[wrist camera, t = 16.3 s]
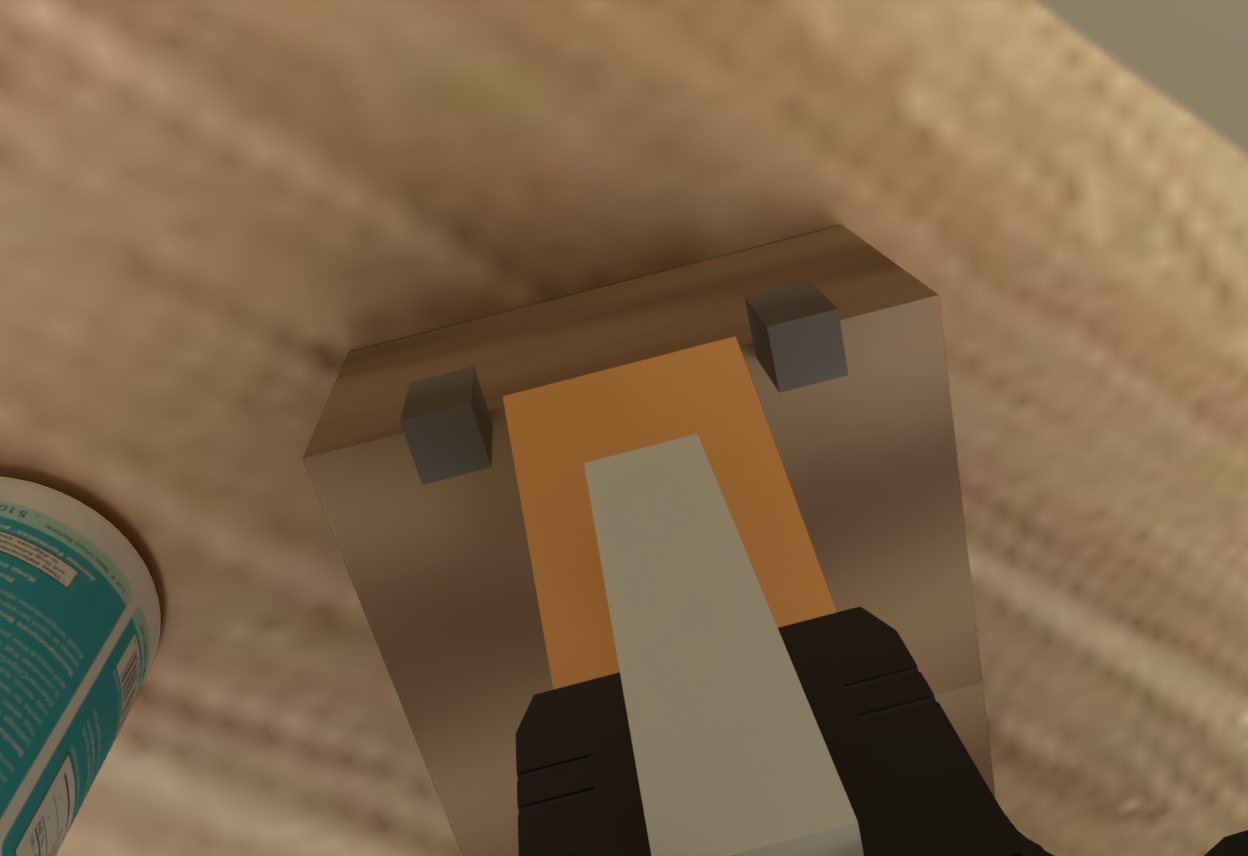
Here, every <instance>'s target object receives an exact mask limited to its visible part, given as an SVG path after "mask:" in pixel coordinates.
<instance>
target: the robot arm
mask: <svg viewBox="0 0 1248 856" xmlns="http://www.w3.org/2000/svg"><path fill="white" fill-rule="evenodd" d="M584 466H585V472H586V478H587V484H588V490H589V496H590V501H591V507H592V513H593V519H594V525H595V530H596V536H597V542H598V548H599V554H600V559H601V565H602V571H603V577H604V583H605V589H606V594H607V600H608V606H609V612H610V618H611V623H612V629H613V635H614V641H615V647H616V652H617V658H618V664H619V670H620V672H619V673H615V674H611V675H607V676H604V677H600V678H596V679H592V680H588V681H584V682H581V683H577V684H573V685H569V686H565V687H561V688H558V689H554V690H550V691H546V692H542V693H538V694H535V695H533V698H532V700H531V702H530V704H529V706H528V708H527V710H526V712H525V715H524V717H523V719H522V721H521V723H520V725H519V727H518V729H517V732H516V771H517V777H518V781H517V807H518V810H519V815H518V847H519V856H1054V855H1052V854H1050V853H1048V852H1046V851H1045V850H1044V849H1043V848H1042V847H1041V846H1040V845H1038V844H1036V843H1034V842H1033V841H1031V840H1029V839H1027V838H1026V837H1025V836H1024V835H1022V834H1021V833H1020V832H1019V831H1017V829H1016V828H1015V827H1014V825H1013V824H1012V823H1011V822H1010V820H1009V819H1008V818H1007V816H1006V815H1005V814H1004V813H1003V811H1002V809H1001V808H1000V806H999V804H998V803H997V801H996V799H995V797H994V796H993V794H992V792H991V791H990V789H989V787H988V786H987V784H986V782H985V780H984V779H983V777H982V775H981V774H980V772H979V770H978V768H977V767H976V765H975V763H974V762H973V760H972V758H971V757H970V755H969V753H968V751H967V750H966V748H965V746H964V745H963V743H962V741H961V739H960V738H959V736H958V734H957V733H956V731H955V729H954V727H953V726H952V724H951V722H950V721H949V719H948V717H947V716H946V714H945V712H944V710H943V709H942V707H941V705H940V704H939V702H936V700H935V697H934V693H933V692H932V690H931V688H930V686H929V685H928V683H927V681H926V680H925V678H924V676H923V675H922V673H921V672H920V673H919V670H918V667H917V664H916V663H915V661H914V659H913V657H912V656H911V654H910V652H909V651H908V649H907V647H906V645H905V644H904V642H903V640H902V639H901V637H900V635H899V634H898V632H897V631H896V630H895V629H894V628H892V627H891V626H889V625H888V624H886V623H885V622H883V621H882V620H880V619H879V618H877V617H876V616H874V615H873V614H871V613H870V612H868V611H867V610H865V609H864V608H862V607H861V606H859V607H856V608H852V609H848V610H844V611H840V612H836V613H833V614H829V615H825V616H821V617H817V618H813V619H810V620H806V621H802V622H798V623H794V624H790V625H786V626H783V627H779V628H777V625H776V623H775V620H774V618H773V616H772V613H771V611H770V608H769V606H768V604H767V601H766V599H765V596H764V594H763V591H762V589H761V587H760V584H759V582H758V579H757V577H756V574H755V572H754V570H753V567H752V565H751V562H750V560H749V558H748V555H747V553H746V550H745V548H744V545H743V543H742V541H741V538H740V536H739V533H738V531H737V529H736V526H735V524H734V521H733V519H732V516H731V514H730V512H729V509H728V507H727V504H726V502H725V499H724V497H723V495H722V492H721V490H720V487H719V485H718V483H717V480H716V478H715V475H714V473H713V470H712V468H711V466H710V463H709V461H708V458H707V456H706V454H705V451H704V449H703V446H702V444H701V441H700V439H699V437H698V434H694V435H690V436H686V437H682V438H679V439H675V440H671V441H667V442H663V443H659V444H656V445H652V446H648V447H644V448H640V449H636V450H632V451H628V452H625V453H621V454H617V455H613V456H609V457H605V458H602V459H598V460H594V461H590V462H586V463H584ZM1204 856H1248V830H1246V831H1243V832H1240V833H1237V834H1233V835H1230V836H1227V837H1224V838H1223V839H1222V840H1221V841H1220V842H1219V843H1218V844H1216V845H1215V846H1214V847H1213V848H1212V849H1211V850H1210V851H1209V852H1208V853H1206V854H1205V855H1204Z"/></svg>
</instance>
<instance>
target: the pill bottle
mask: <svg viewBox="0 0 1248 856" xmlns="http://www.w3.org/2000/svg"><path fill="white" fill-rule="evenodd" d="M160 627H161V615H160V605H159V599H158V595H157V592H156V588H155V585H154V582H153V580H152V577H151V575H150V573H149V571H148V569H147V567H146V565H145V563H144V561H143V560H142V558H141V557H140V555H139V554H138V552H137V551H136V550H135V548H134V547H133V546H132V544H131V543H130V542H129V541H128V540H127V539H126V537H125V536H124V535H123V534H122V533H121V532H120V531H119V530H118V529H117V528H116V527H115V526H114V525H113V524H111V523H110V522H109V521H108V520H107V519H105V518H104V517H103V516H101V515H100V514H99V513H97V512H96V511H94V510H93V509H91V508H90V507H88V506H86V505H85V504H83V503H82V502H80V501H78V500H76V499H74V498H72V497H70V496H68V495H66V494H64V493H61V492H59V491H57V490H54V489H51V488H49V487H46V486H43V485H40V484H36V483H33V482H29V481H24V480H20V479H15V478H8V477H1V476H0V856H56V854H57V852H58V850H59V848H60V846H61V844H62V842H63V840H64V838H65V836H66V834H67V832H68V831H69V829H70V827H71V825H72V823H73V821H74V819H75V817H76V815H77V813H78V811H79V809H80V807H81V805H82V803H83V801H84V799H85V797H86V795H87V793H88V791H89V789H90V787H91V785H92V783H93V781H94V779H95V778H96V776H97V774H98V772H99V770H100V768H101V766H102V764H103V762H104V760H105V758H106V756H107V754H108V752H109V750H110V748H111V746H112V744H113V742H114V741H115V739H116V737H117V735H118V733H119V731H120V729H121V727H122V725H123V723H124V721H125V719H126V717H127V715H128V713H129V711H130V709H131V707H132V705H133V703H134V701H135V700H136V697H137V695H138V693H139V691H140V689H141V687H142V685H143V683H144V681H145V679H146V677H147V675H148V673H149V671H150V668H151V666H152V664H153V661H154V658H155V656H156V653H157V648H158V644H159V639H160Z"/></svg>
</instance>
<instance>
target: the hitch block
mask: <svg viewBox="0 0 1248 856" xmlns="http://www.w3.org/2000/svg"><path fill="white" fill-rule="evenodd" d="M735 336H736V339H737V342H738V344H739V347H740V350H741V352H742V355H743V358H744V361H745V363H746V366H747V369H748V372H749V374H750V377H751V380H752V382H753V385H754V388H755V391H756V393H757V396H758V399H759V402H760V404H761V407H762V410H763V412H764V415H765V418H766V421H767V423H768V426H769V429H770V431H771V434H772V437H773V440H774V442H775V445H776V448H777V451H778V453H779V456H780V459H781V461H782V464H783V467H784V470H785V472H786V475H787V478H788V481H789V483H790V486H791V489H792V491H793V494H794V497H795V500H796V502H797V505H798V508H799V511H800V513H801V516H802V519H803V521H804V524H805V527H806V530H807V532H808V535H809V538H810V541H811V543H812V546H813V549H814V551H815V554H816V557H817V560H818V562H819V565H820V568H821V571H822V573H823V576H824V579H825V581H826V584H827V587H828V590H829V592H830V595H831V598H832V601H833V603H834V606H835V609H836V611H837V612H840V611H844V610H848V609H852V608H856V607H859V606H861V607H862V608H864V609H865V610H867V611H868V612H870V613H871V614H873V615H874V616H876V617H877V618H879V619H880V620H882V621H883V622H885V623H886V624H888V625H889V626H891V627H892V628H894V629H895V630H896V631H897V632H898V634H899V635H900V637H901V639H902V640H903V642H904V644H905V645H906V647H907V649H908V651H909V652H910V654H911V656H912V657H913V659H914V661H915V663H916V664H917V667H918V670H919V673H920V672H921V673H922V675H923V676H924V678H925V680H926V681H927V683H928V685H929V686H930V688H931V690H932V692H933V693H934V697H935V700H936V702H939V704H940V705H941V707H942V709H943V710H944V712H945V714H946V716H947V717H948V719H949V721H950V722H951V724H952V726H953V727H954V729H955V731H956V733H957V734H958V736H959V738H960V739H961V741H962V743H963V745H964V746H965V748H966V750H967V751H968V753H969V755H970V757H971V758H972V760H973V762H974V763H975V765H976V767H977V768H978V770H979V772H980V774H981V775H982V777H983V779H984V780H985V782H986V784H987V786H988V787H989V789H990V791H991V792H992V794H993V796H994V797H995V791H994V782H993V773H992V764H991V755H990V747H989V738H988V729H987V720H986V711H985V702H984V693H983V685H982V676H981V667H980V658H979V649H978V640H977V631H976V623H975V614H974V605H973V596H972V587H971V578H970V569H969V561H968V552H967V543H966V534H965V525H964V516H963V507H962V499H961V490H960V481H959V472H958V463H957V454H956V445H955V437H954V428H953V419H952V410H951V401H950V392H949V383H948V375H947V366H946V357H945V348H944V339H943V330H942V321H941V313H940V304H939V295H938V294H936V293H935V292H934V291H932V290H931V289H930V288H928V287H927V286H925V285H924V284H923V283H921V282H920V281H919V280H917V279H916V278H914V277H913V276H912V275H910V274H909V273H907V272H906V271H905V270H903V269H902V268H901V267H899V266H898V265H896V264H895V263H894V262H892V261H891V260H890V259H888V258H887V257H885V256H884V255H883V254H881V253H880V252H878V251H877V250H876V249H874V248H873V247H872V246H870V245H869V244H867V243H866V242H865V241H863V240H862V239H861V238H859V237H858V236H856V235H855V234H854V233H852V232H851V231H849V230H848V229H847V228H845V227H844V226H843V225H841V226H837V227H833V228H829V229H825V230H822V231H818V232H814V233H810V234H806V235H802V236H798V237H794V238H791V239H787V240H783V241H779V242H775V243H771V244H767V245H763V246H759V247H756V248H752V249H748V250H744V251H740V252H736V253H732V254H728V255H725V256H721V257H717V258H713V259H709V260H705V261H701V262H697V263H693V264H690V265H686V266H682V267H678V268H674V269H670V270H666V271H662V272H659V273H655V274H651V275H647V276H643V277H639V278H635V279H631V280H627V281H624V282H620V283H616V284H612V285H608V286H604V287H600V288H596V289H593V290H589V291H585V292H581V293H577V294H573V295H569V296H565V297H561V298H558V299H554V300H550V301H546V302H542V303H538V304H534V305H530V306H527V307H523V308H519V309H515V310H511V311H507V312H503V313H499V314H495V315H492V316H488V317H484V318H480V319H476V320H472V321H468V322H464V323H461V324H457V325H453V326H449V327H445V328H441V329H437V330H433V331H429V332H426V333H422V334H418V335H414V336H410V337H406V338H402V339H398V340H395V341H391V342H387V343H383V344H379V345H375V346H371V347H367V348H363V349H360V350H356V351H352V352H349V353H348V355H347V357H346V360H345V362H344V364H343V367H342V369H341V371H340V373H339V376H338V378H337V380H336V383H335V385H334V387H333V390H332V392H331V394H330V397H329V399H328V401H327V404H326V406H325V408H324V411H323V413H322V415H321V418H320V420H319V422H318V425H317V427H316V429H315V431H314V434H313V436H312V438H311V441H310V443H309V445H308V448H307V450H306V452H305V455H304V457H303V461H304V463H305V466H306V468H307V471H308V473H309V476H310V478H311V481H312V483H313V486H314V488H315V491H316V493H317V496H318V498H319V501H320V503H321V505H322V508H323V510H324V513H325V515H326V518H327V520H328V523H329V525H330V528H331V530H332V533H333V535H334V538H335V540H336V543H337V545H338V548H339V550H340V553H341V555H342V558H343V560H344V563H345V565H346V567H347V570H348V572H349V575H350V577H351V580H352V582H353V585H354V587H355V590H356V592H357V595H358V597H359V600H360V602H361V605H362V607H363V610H364V612H365V615H366V617H367V620H368V622H369V625H370V627H371V629H372V632H373V634H374V637H375V639H376V642H377V644H378V647H379V649H380V652H381V654H382V657H383V659H384V662H385V664H386V667H387V669H388V672H389V674H390V677H391V679H392V682H393V684H394V687H395V689H396V691H397V694H398V696H399V699H400V701H401V704H402V706H403V709H404V711H405V714H406V716H407V719H408V721H409V724H410V726H411V729H412V731H413V734H414V736H415V739H416V741H417V744H418V746H419V749H420V751H421V753H422V756H423V758H424V761H425V763H426V766H427V768H428V771H429V773H430V776H431V778H432V781H433V783H434V786H435V788H436V791H437V793H438V796H439V798H440V801H441V803H442V806H443V808H444V811H445V813H446V815H447V818H448V820H449V823H450V825H451V828H452V830H453V833H454V835H455V838H456V840H457V843H458V845H459V848H460V850H461V853H462V855H463V856H519V847H518V815H519V810H518V807H517V781H518V777H517V771H516V732H517V729H518V727H519V725H520V723H521V721H522V719H523V717H524V715H525V712H526V710H527V708H528V706H529V704H530V702H531V700H532V698H533V695H535V694H538V693H542V692H546V691H550V690H553V685H552V679H551V673H550V667H549V662H548V656H547V650H546V644H545V638H544V633H543V627H542V621H541V615H540V610H539V604H538V598H537V592H536V586H535V581H534V575H533V569H532V563H531V557H530V552H529V546H528V540H527V534H526V529H525V523H524V517H523V511H522V505H521V500H520V494H519V488H518V482H517V476H516V471H515V465H514V459H513V453H512V447H511V442H510V436H509V430H508V424H507V419H506V413H505V407H504V401H503V396H506V395H510V394H514V393H517V392H521V391H525V390H529V389H533V388H537V387H541V386H545V385H549V384H552V383H556V382H560V381H564V380H568V379H572V378H576V377H580V376H583V375H587V374H591V373H595V372H599V371H603V370H607V369H611V368H615V367H618V366H622V365H626V364H630V363H634V362H638V361H642V360H646V359H649V358H653V357H657V356H661V355H665V354H669V353H673V352H677V351H680V350H684V349H688V348H692V347H696V346H700V345H704V344H708V343H712V342H715V341H719V340H723V339H727V338H731V337H735Z"/></svg>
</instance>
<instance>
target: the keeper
mask: <svg viewBox="0 0 1248 856" xmlns="http://www.w3.org/2000/svg"><path fill="white" fill-rule="evenodd" d="M503 401H504V407H505V413H506V419H507V424H508V430H509V436H510V442H511V447H512V453H513V459H514V465H515V471H516V476H517V482H518V488H519V494H520V500H521V505H522V511H523V517H524V523H525V529H526V534H527V540H528V546H529V552H530V557H531V563H532V569H533V575H534V581H535V586H536V592H537V598H538V604H539V610H540V615H541V621H542V627H543V633H544V638H545V644H546V650H547V656H548V662H549V667H550V673H551V679H552V685H553V690H554V689H558V688H561V687H565V686H569V685H573V684H577V683H581V682H584V681H588V680H592V679H596V678H600V677H604V676H607V675H611V674H615V673H619V672H620V670H619V664H618V658H617V652H616V647H615V641H614V635H613V629H612V623H611V618H610V612H609V606H608V600H607V594H606V589H605V583H604V577H603V571H602V565H601V559H600V554H599V548H598V542H597V536H596V530H595V525H594V519H593V513H592V507H591V501H590V496H589V490H588V484H587V478H586V472H585V466H584V463H586V462H590V461H594V460H598V459H602V458H605V457H609V456H613V455H617V454H621V453H625V452H628V451H632V450H636V449H640V448H644V447H648V446H652V445H656V444H659V443H663V442H667V441H671V440H675V439H679V438H682V437H686V436H690V435H694V434H698V437H699V439H700V441H701V444H702V446H703V449H704V451H705V454H706V456H707V458H708V461H709V463H710V466H711V468H712V470H713V473H714V475H715V478H716V480H717V483H718V485H719V487H720V490H721V492H722V495H723V497H724V499H725V502H726V504H727V507H728V509H729V512H730V514H731V516H732V519H733V521H734V524H735V526H736V529H737V531H738V533H739V536H740V538H741V541H742V543H743V545H744V548H745V550H746V553H747V555H748V558H749V560H750V562H751V565H752V567H753V570H754V572H755V574H756V577H757V579H758V582H759V584H760V587H761V589H762V591H763V594H764V596H765V599H766V601H767V604H768V606H769V608H770V611H771V613H772V616H773V618H774V620H775V623H776V625H777V628H779V627H783V626H786V625H790V624H794V623H798V622H802V621H806V620H810V619H813V618H817V617H821V616H825V615H829V614H833V613H836V612H837V611H836V609H835V606H834V603H833V601H832V598H831V595H830V592H829V590H828V587H827V584H826V581H825V579H824V576H823V573H822V571H821V568H820V565H819V562H818V560H817V557H816V554H815V551H814V549H813V546H812V543H811V541H810V538H809V535H808V532H807V530H806V527H805V524H804V521H803V519H802V516H801V513H800V511H799V508H798V505H797V502H796V500H795V497H794V494H793V491H792V489H791V486H790V483H789V481H788V478H787V475H786V472H785V470H784V467H783V464H782V461H781V459H780V456H779V453H778V451H777V448H776V445H775V442H774V440H773V437H772V434H771V431H770V429H769V426H768V423H767V421H766V418H765V415H764V412H763V410H762V407H761V404H760V402H759V399H758V396H757V393H756V391H755V388H754V385H753V382H752V380H751V377H750V374H749V372H748V369H747V366H746V363H745V361H744V358H743V355H742V352H741V350H740V347H739V344H738V342H737V339H736V336H735V337H731V338H727V339H723V340H719V341H715V342H712V343H708V344H704V345H700V346H696V347H692V348H688V349H684V350H680V351H677V352H673V353H669V354H665V355H661V356H657V357H653V358H649V359H646V360H642V361H638V362H634V363H630V364H626V365H622V366H618V367H615V368H611V369H607V370H603V371H599V372H595V373H591V374H587V375H583V376H580V377H576V378H572V379H568V380H564V381H560V382H556V383H552V384H549V385H545V386H541V387H537V388H533V389H529V390H525V391H521V392H517V393H514V394H510V395H506V396H503Z"/></svg>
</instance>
